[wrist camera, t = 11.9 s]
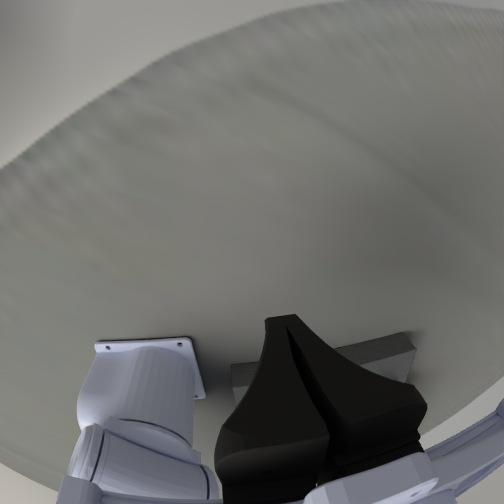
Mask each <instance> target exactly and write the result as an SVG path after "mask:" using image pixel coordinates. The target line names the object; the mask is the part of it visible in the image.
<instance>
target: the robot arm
mask: <svg viewBox="0 0 504 504" xmlns="http://www.w3.org/2000/svg"><path fill="white" fill-rule="evenodd" d="M265 331H266V333H265V341H264V346H263V351H262V354H261V358H260V361H259V364H258V367H257V370H256V372H255V375H254V377H253V379H252V381H251V383H250V386H249V388H248V389H247V391H246V393H245V395H244V397H243V398H242V400H241V401H240V403H239V404H238V406H237V407H236V409H235V410H234V412H233V413H232V414H231V416H230V417H229V418H228V419H227V420H226V422H225V423H224V424H223V425H222V427H221V430H220V433H219V436H218V439H217V443H216V447H215V453H214V464H215V472H216V474H217V476H218V478H219V480H220V482H221V484H222V492H223V499H219V489H218V484H217V481H216V478H215V476H214V474H213V472H212V470H211V469H210V468H209V467H207V466H205V465H202V464H201V452H199V451H196V450H194V449H192V440H193V414H194V399H203V398H205V397H206V392H205V389H204V385H203V382H202V379H201V375H200V371H199V368H198V364H197V361H196V357H195V353H194V349H193V346H192V342H191V340H190V339H189V338H187V337H183V338H170V339H155V340H136V341H110V342H96V343H95V346H94V347H95V350H96V352H97V354H96V356H95V359H94V361H93V363H92V365H91V367H90V370H89V372H88V374H87V376H86V379H85V381H84V383H83V386H82V388H81V390H80V393H79V396H78V401H77V418H78V423H79V426H80V428H81V431H82V433H81V435H80V437H79V439H78V441H77V444H76V446H75V449H74V451H73V454H72V457H71V460H70V463H69V467H68V471H67V475H63V478H62V482H61V486H60V490H59V494H58V498H57V502H56V504H457V502H456V500H455V498H456V497H458V496H460V495H461V494H463V493H464V492H465V491H467V490H469V489H470V488H471V487H473V486H474V485H476V484H477V483H479V482H480V481H481V480H483V479H484V478H485V477H487V476H488V475H489V474H491V473H492V472H493V471H495V470H496V469H497V468H498V467H500V466H501V465H502V464H503V463H504V399H503V400H502V401H501V402H500V403H499V405H498V407H497V408H496V410H495V411H494V412H492V413H491V414H489V415H488V416H486V417H485V418H483V419H481V420H480V421H478V422H477V423H475V424H473V425H472V426H470V427H468V428H466V429H465V430H463V431H461V432H459V433H458V434H456V435H454V436H452V437H450V438H448V439H446V440H444V441H443V442H441V443H439V444H437V445H434V446H432V447H430V448H428V449H426V450H423V448H422V446H421V444H420V442H419V441H418V440H419V439H420V434H419V432H418V430H417V429H418V427H419V425H420V424H421V422H422V420H423V418H424V416H425V414H426V411H427V403H426V402H425V400H424V399H423V397H422V396H421V394H420V393H419V391H418V390H417V389H416V388H415V386H414V385H411V384H407V383H403V382H399V381H396V380H392V379H389V378H386V377H384V376H381V375H378V374H376V373H374V372H371V371H369V370H367V369H365V368H363V367H361V366H359V365H357V364H355V363H353V362H352V361H350V360H348V359H347V358H345V357H344V356H342V355H341V354H339V353H338V352H336V351H335V350H334V349H333V348H331V347H330V346H329V345H327V344H326V343H325V342H324V341H323V340H322V339H320V338H319V337H318V336H317V335H316V334H315V333H314V332H313V331H312V330H311V329H310V328H309V327H308V326H307V325H306V324H305V323H304V322H303V321H302V320H301V319H300V318H299V317H298V316H297V315H296V314H291V315H284V316H277V317H270V318H267V319H266V320H265ZM179 342H180V343H182V344H179ZM108 346H109V347H110V348H109V347H108ZM316 483H317V486H316Z"/></svg>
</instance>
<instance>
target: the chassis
mask: <svg viewBox="0 0 504 504" xmlns="http://www.w3.org/2000/svg"><path fill="white" fill-rule="evenodd" d="M334 350H335V351H336V352H338V353H339V354H341V355H342V356H344V357H345V358H347V359H348V360H350V361H352V362H353V363H355V364H357V365H359V366H361V367H363V368H365V369H367V370H369V371H371V372H374V373H376V374H378V375H381V376H384V377H386V378H389V379H392V380H396V381H399V382H403V383H405V382H406V379H407V377H408V374H409V371H410V368H411V365H412V362H413V359H414V356H415V352H416V347H415V346H414V345H413V344H412V343H411V341H410V340H409V339H408V338H407V337H406V335H405V334H404V333H403V332H401V333H398V334H394V335H390V336H387V337H383V338H379V339H375V340H371V341H367V342H362V343H358V344H354V345H349V346H345V347H340V348H335V349H334ZM258 364H259V362H251V363H243V364H234V365H231V376H232V388H233V393H234V398H235V403H236V407H237V406H238V404H239V403H240V401H241V400H242V398H243V397H244V395H245V393H246V391H247V389H248V388H249V386H250V383H251V381H252V379H253V377H254V375H255V372H256V370H257V367H258Z"/></svg>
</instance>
